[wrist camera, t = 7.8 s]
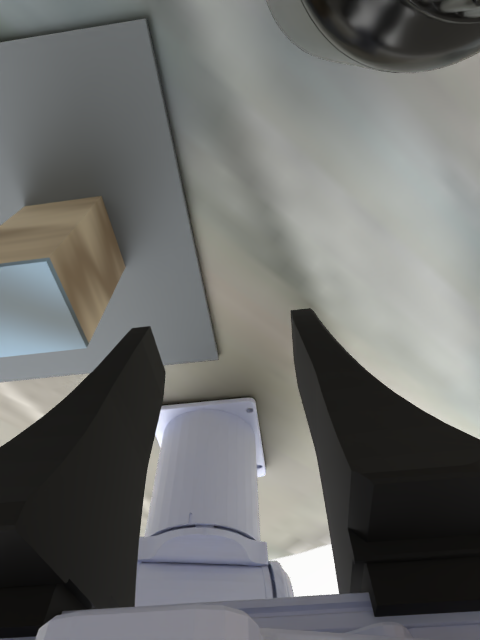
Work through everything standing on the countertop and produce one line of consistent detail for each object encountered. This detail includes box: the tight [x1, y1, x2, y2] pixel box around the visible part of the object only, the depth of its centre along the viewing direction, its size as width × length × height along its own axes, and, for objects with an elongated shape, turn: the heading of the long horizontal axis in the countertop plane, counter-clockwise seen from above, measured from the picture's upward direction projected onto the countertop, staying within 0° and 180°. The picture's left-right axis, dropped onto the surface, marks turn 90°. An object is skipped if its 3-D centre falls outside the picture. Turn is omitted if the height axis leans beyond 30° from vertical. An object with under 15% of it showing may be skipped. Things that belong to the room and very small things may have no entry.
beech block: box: [0, 196, 125, 357], centre depth 18 cm, size 4×4×7 cm
